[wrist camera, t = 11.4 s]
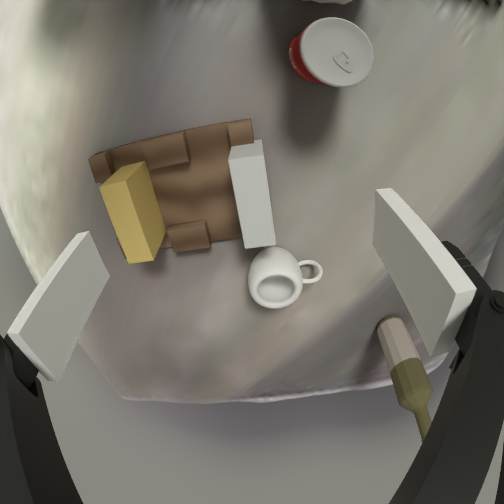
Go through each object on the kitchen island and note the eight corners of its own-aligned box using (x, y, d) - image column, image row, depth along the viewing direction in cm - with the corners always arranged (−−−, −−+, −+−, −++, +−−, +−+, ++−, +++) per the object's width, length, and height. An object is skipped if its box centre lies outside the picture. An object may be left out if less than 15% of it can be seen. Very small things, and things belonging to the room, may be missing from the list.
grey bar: (232, 143, 40) (228, 160, 33) (261, 139, 39) (263, 154, 33) (245, 219, 46) (245, 248, 40) (272, 216, 46) (275, 244, 39)
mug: (250, 282, 54) (250, 313, 48) (245, 242, 50) (244, 271, 43) (317, 276, 54) (326, 307, 47) (319, 235, 49) (329, 264, 42)
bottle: (398, 331, 63) (439, 445, 38) (371, 335, 64) (406, 455, 39) (405, 310, 59) (455, 430, 34) (377, 314, 60) (420, 442, 35)
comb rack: (95, 153, 40) (88, 159, 38) (250, 118, 38) (250, 121, 36) (130, 250, 50) (125, 259, 48) (267, 231, 48) (268, 239, 46)
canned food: (322, 93, 36) (346, 102, 27) (275, 58, 34) (284, 54, 24) (355, 55, 33) (389, 53, 24) (309, 19, 30) (329, 3, 21)
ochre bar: (166, 231, 47) (153, 260, 41) (144, 234, 48) (128, 263, 41) (145, 160, 41) (125, 180, 34) (121, 166, 41) (99, 187, 34)
